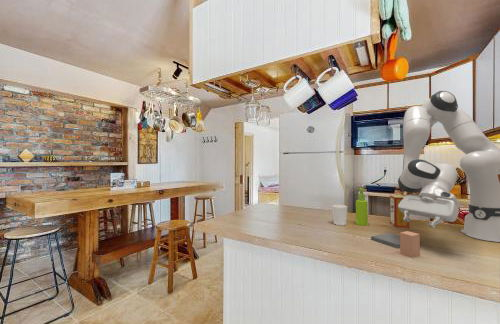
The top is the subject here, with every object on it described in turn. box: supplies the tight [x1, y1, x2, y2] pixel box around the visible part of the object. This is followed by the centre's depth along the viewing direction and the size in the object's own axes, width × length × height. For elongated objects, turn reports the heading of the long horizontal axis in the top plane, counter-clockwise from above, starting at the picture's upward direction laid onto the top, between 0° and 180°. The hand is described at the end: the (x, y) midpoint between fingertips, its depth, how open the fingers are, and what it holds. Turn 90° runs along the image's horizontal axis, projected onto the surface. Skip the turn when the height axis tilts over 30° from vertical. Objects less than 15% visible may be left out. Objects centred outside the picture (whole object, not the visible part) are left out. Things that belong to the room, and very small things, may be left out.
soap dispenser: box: [355, 187, 369, 227], centre depth 134 cm, size 6×7×20 cm
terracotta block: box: [399, 230, 421, 258], centre depth 91 cm, size 4×4×8 cm
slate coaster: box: [370, 232, 400, 249], centre depth 106 cm, size 12×12×2 cm
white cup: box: [331, 204, 348, 226], centre depth 135 cm, size 8×8×10 cm
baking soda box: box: [389, 194, 410, 229], centre depth 131 cm, size 10×6×16 cm
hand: (417, 223), depth 95 cm, fingers open, 8 cm apart
